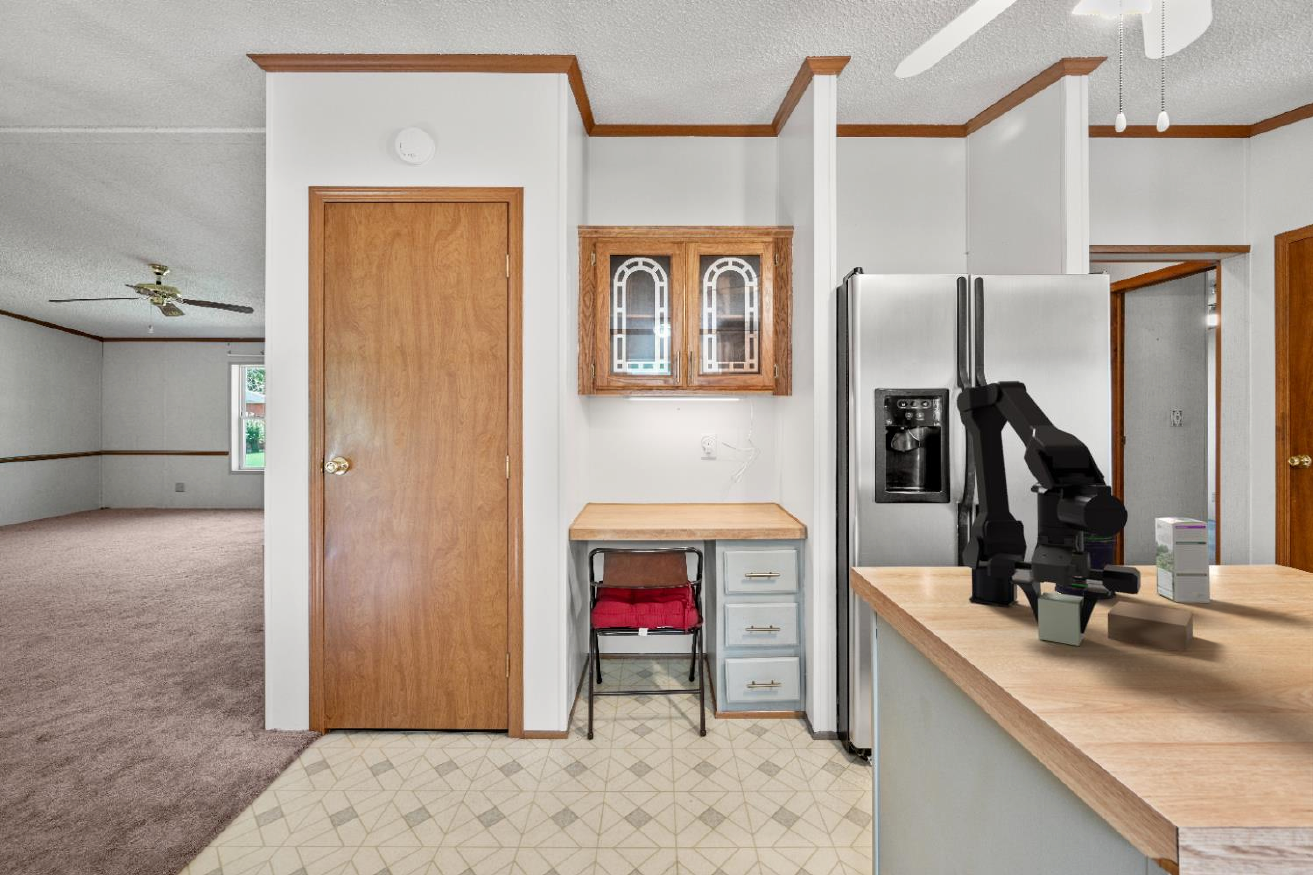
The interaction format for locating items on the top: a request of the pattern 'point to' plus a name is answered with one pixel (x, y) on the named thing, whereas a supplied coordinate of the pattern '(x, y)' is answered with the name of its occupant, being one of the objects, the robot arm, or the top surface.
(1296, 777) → the top surface
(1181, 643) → the block
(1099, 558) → the storage jar
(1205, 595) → the syrup box
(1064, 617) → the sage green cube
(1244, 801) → the top surface
